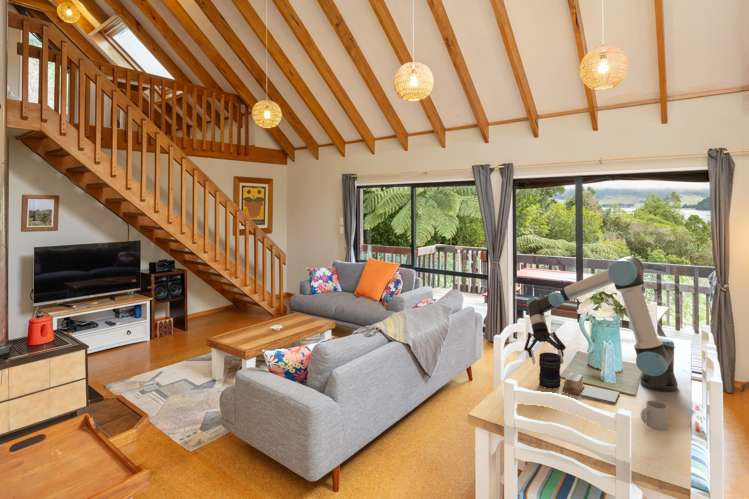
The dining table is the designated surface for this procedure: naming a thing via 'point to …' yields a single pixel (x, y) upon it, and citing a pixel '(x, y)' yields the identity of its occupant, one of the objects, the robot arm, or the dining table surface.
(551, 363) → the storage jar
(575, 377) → the brown wooden block
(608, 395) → the slate board
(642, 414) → the cup
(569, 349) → the dining table surface
